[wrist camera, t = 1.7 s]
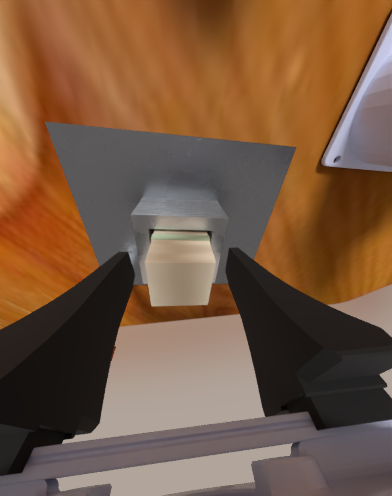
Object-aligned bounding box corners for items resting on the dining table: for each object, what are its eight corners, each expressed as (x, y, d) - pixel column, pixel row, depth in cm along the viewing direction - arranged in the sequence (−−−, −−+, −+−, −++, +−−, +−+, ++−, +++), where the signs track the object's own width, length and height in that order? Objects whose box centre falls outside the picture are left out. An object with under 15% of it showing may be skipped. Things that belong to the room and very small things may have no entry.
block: (202, 214, 13) (217, 262, 8) (198, 249, 15) (208, 305, 10) (158, 212, 12) (143, 261, 7) (161, 248, 14) (150, 307, 9)
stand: (288, 146, 11) (512, 154, 4) (241, 277, 19) (282, 366, 12) (56, 123, 10) (-455, 41, 2) (110, 278, 17) (55, 384, 10)
